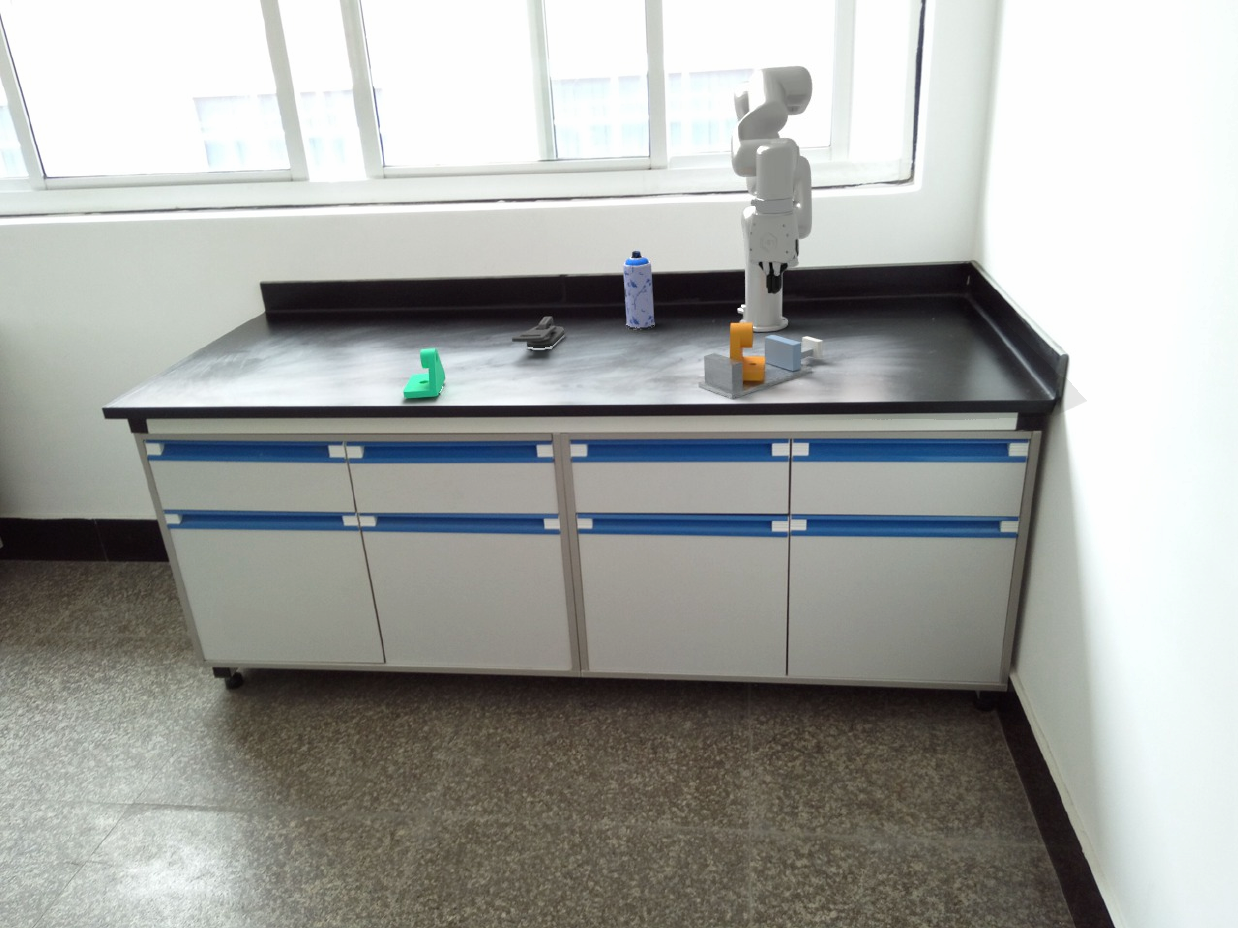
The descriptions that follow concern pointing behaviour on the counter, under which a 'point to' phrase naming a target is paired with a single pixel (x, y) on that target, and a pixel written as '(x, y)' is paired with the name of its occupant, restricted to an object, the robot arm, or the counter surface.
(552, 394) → the counter surface
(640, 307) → the aerosol can
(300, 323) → the counter surface
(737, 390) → the vise
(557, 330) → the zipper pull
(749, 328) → the bracket
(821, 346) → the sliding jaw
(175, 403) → the counter surface
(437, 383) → the camera mount
